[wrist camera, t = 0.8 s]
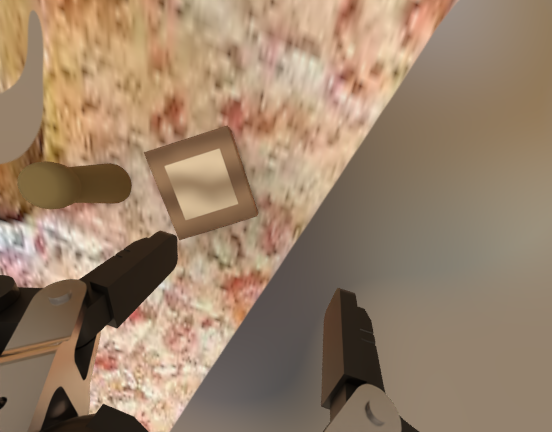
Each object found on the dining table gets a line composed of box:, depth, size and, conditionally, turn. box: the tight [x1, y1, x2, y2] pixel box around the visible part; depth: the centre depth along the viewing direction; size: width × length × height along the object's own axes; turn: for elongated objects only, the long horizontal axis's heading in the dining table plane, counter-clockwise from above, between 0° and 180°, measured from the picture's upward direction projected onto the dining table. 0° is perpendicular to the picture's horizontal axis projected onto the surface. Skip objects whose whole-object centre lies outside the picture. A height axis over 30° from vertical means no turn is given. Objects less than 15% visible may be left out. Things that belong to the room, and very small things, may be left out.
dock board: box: [144, 126, 258, 240], centre depth 32 cm, size 13×12×3 cm
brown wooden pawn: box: [18, 162, 132, 209], centre depth 28 cm, size 6×6×11 cm
